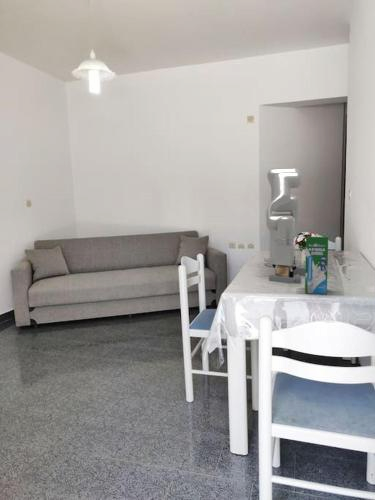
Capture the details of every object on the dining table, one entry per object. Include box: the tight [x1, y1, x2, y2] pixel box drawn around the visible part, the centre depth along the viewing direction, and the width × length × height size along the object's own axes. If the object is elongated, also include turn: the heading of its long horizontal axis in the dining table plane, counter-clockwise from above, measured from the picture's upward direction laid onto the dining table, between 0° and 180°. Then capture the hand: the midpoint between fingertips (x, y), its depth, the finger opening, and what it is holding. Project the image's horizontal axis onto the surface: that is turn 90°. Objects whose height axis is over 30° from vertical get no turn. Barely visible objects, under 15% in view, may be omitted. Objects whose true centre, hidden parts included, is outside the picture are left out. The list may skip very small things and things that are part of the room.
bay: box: [268, 266, 305, 285], centre depth 193 cm, size 15×20×5 cm
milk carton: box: [304, 235, 329, 295], centre depth 170 cm, size 9×9×25 cm
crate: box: [275, 265, 290, 277], centre depth 190 cm, size 6×6×7 cm
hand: (284, 277), depth 190 cm, fingers closed on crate, 6 cm apart
